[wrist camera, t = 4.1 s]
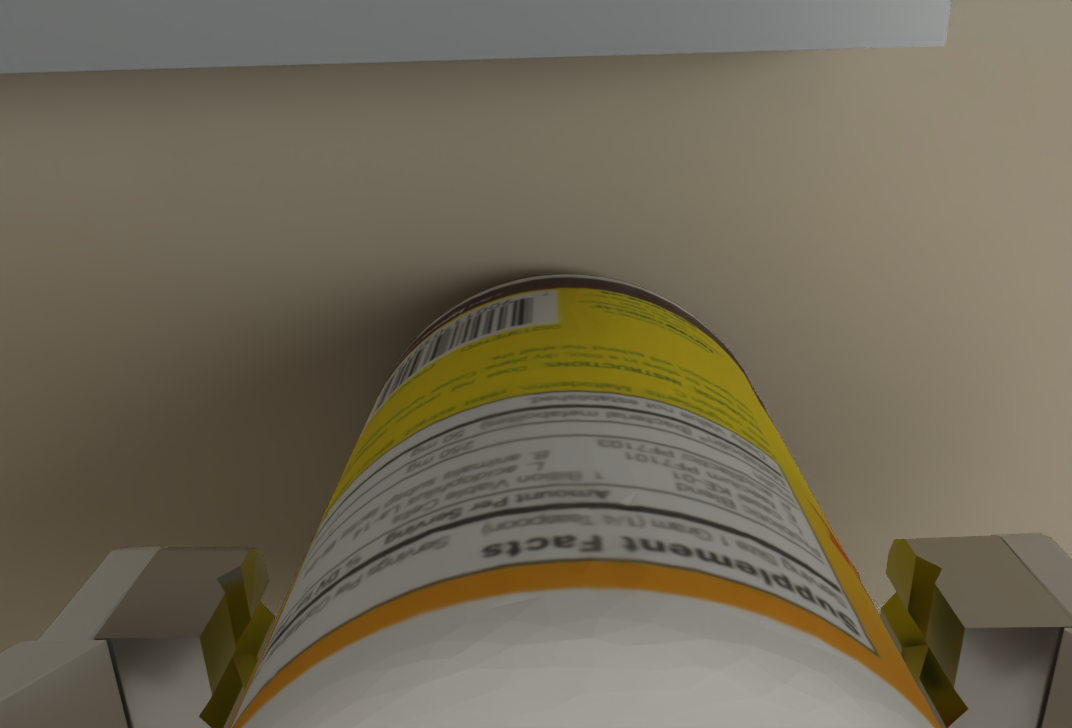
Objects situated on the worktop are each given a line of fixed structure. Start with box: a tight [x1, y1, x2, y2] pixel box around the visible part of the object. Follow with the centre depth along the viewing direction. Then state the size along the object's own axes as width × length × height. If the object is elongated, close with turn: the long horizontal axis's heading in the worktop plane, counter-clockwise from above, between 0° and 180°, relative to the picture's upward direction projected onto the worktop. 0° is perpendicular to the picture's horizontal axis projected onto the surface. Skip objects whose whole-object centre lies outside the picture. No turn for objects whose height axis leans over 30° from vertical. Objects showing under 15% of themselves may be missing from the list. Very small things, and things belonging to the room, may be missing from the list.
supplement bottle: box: [228, 274, 941, 728], centre depth 8 cm, size 6×6×10 cm
